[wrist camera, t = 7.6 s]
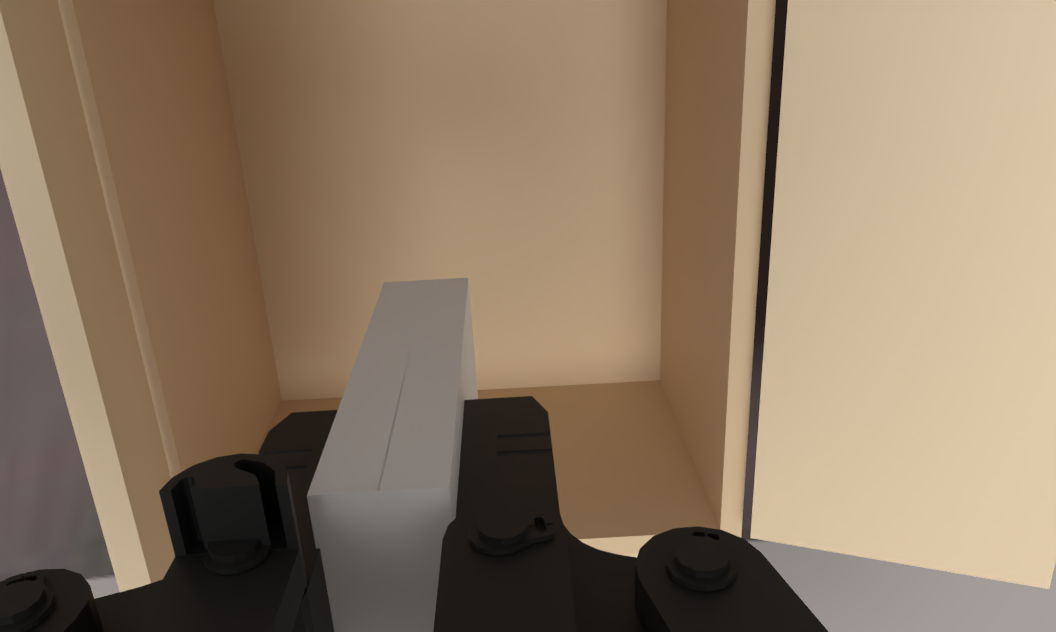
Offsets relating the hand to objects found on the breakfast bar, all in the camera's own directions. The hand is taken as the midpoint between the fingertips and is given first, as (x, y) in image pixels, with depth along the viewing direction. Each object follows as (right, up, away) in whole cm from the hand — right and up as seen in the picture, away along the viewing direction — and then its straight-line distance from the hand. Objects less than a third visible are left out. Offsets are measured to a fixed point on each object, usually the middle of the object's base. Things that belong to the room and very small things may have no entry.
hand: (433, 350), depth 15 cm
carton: (-1, +6, +14) cm, 15 cm away
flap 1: (-8, +1, +4) cm, 9 cm away
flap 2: (+7, +2, +5) cm, 9 cm away
